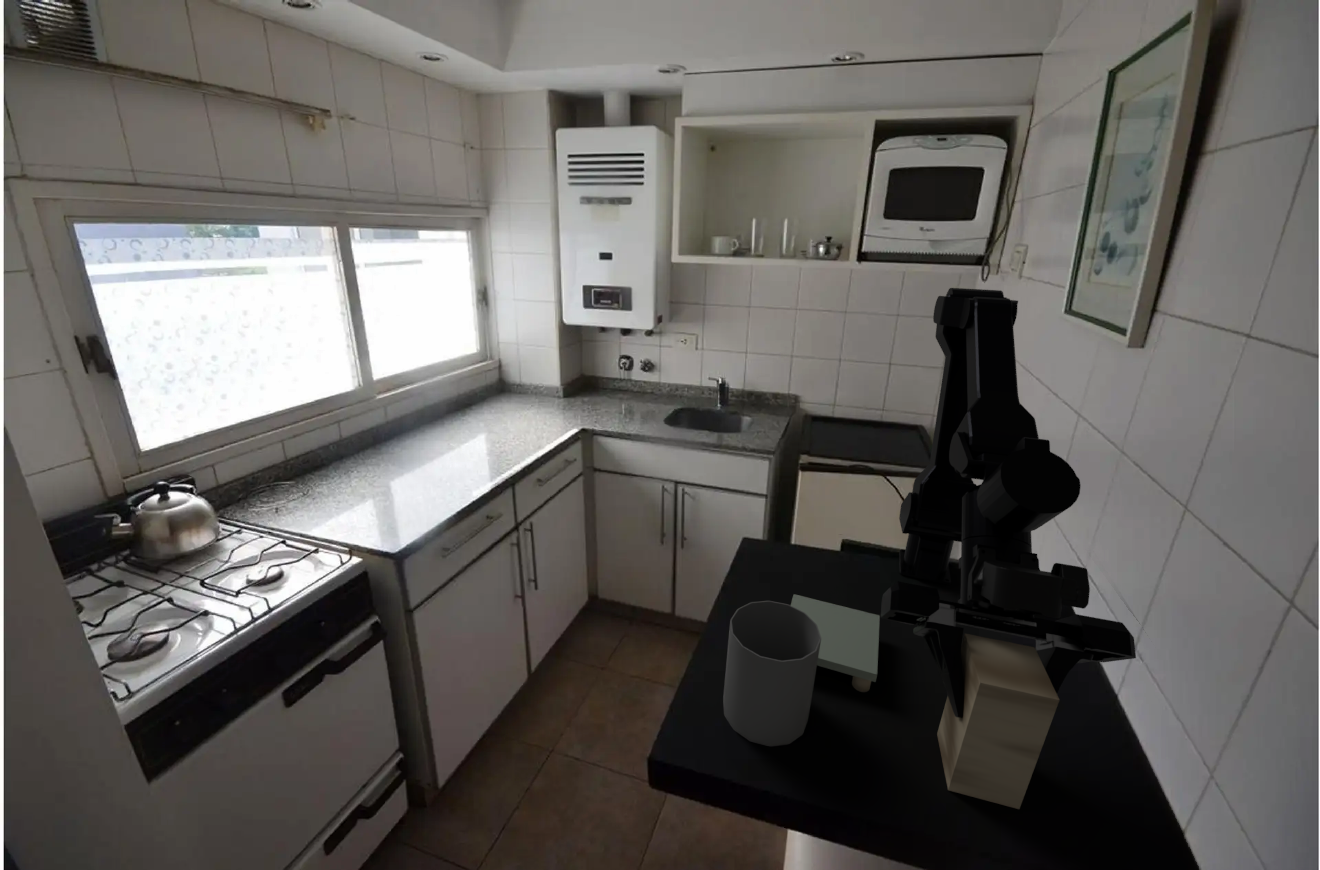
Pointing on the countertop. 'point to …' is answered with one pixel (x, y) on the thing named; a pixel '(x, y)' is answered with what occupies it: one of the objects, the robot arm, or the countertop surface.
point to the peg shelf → (845, 639)
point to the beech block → (997, 721)
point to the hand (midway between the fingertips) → (997, 726)
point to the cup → (770, 672)
